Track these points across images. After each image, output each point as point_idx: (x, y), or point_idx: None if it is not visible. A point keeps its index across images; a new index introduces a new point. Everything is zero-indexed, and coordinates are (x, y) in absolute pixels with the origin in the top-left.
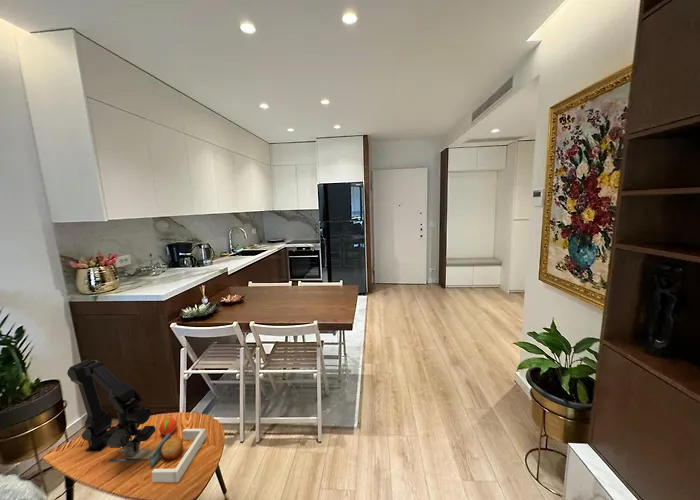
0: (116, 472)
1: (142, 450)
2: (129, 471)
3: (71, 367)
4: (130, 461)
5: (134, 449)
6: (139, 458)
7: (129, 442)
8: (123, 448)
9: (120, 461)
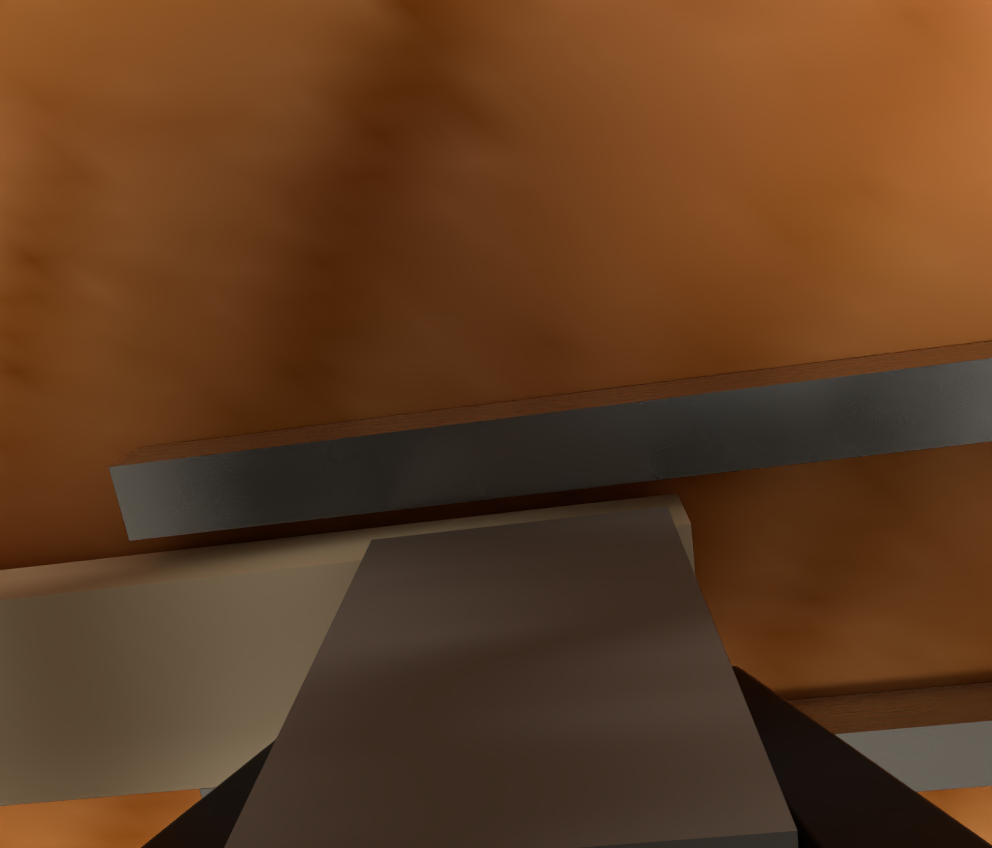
0: (543, 8)
1: None
2: (137, 110)
3: None
4: (406, 424)
5: None
6: (223, 552)
7: None
8: (856, 763)
9: (746, 382)
